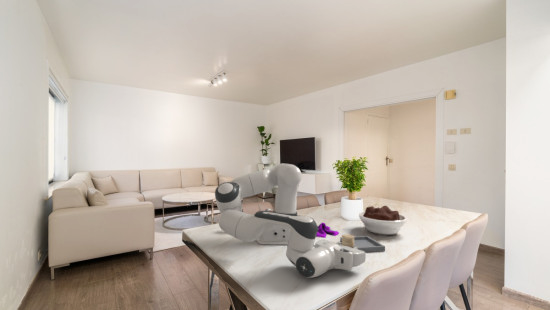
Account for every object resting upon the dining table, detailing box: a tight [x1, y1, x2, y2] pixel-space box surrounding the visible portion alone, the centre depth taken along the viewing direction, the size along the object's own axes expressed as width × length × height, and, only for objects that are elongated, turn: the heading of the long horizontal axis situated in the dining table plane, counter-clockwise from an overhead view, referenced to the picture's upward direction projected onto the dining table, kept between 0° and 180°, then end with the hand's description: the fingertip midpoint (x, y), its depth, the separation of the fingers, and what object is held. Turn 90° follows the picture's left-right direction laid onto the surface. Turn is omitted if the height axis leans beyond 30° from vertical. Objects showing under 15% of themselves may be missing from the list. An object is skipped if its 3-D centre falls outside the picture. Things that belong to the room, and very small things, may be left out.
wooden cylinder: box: [341, 233, 355, 248], centre depth 106 cm, size 5×5×10 cm
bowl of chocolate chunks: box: [358, 205, 407, 236], centre depth 145 cm, size 25×25×15 cm
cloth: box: [316, 222, 340, 239], centre depth 144 cm, size 22×19×6 cm
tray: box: [339, 235, 386, 253], centre depth 123 cm, size 15×15×2 cm
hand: (349, 246), depth 107 cm, fingers closed on wooden cylinder, 5 cm apart
